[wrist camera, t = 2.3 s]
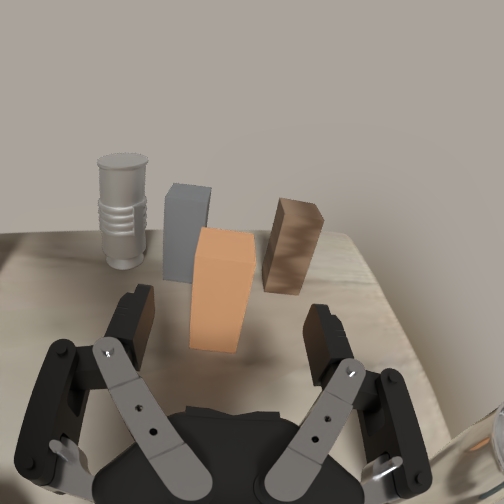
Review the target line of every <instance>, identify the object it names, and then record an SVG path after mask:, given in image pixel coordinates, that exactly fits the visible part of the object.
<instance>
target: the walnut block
mask: <svg viewBox="0 0 504 504" xmlns="http://www.w3.org/2000/svg"><path fill="white" fill-rule="evenodd" d="M323 223H324V219H323V217H322V215H321V213H320V212H319V210H318V208H317V207H316V205H315V204H312V203H306V202H301V201H296V200H290V199H285V198H279V202H278V207H277V211H276V215H275V219H274V223H273V227H272V231H271V235H270V239H269V243H268V248H267V252H266V256H265V260H264V264H263V268H262V277H263V286H264V292H269V293H279V294H289V295H299V293H300V290H301V287H302V285H303V282H304V279H305V276H306V273H307V271H308V268H309V265H310V262H311V259H312V256H313V253H314V250H315V247H316V244H317V241H318V238H319V235H320V232H321V229H322V226H323Z"/></svg>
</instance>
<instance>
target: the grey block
mask: <svg viewBox="0 0 504 504" xmlns="http://www.w3.org/2000/svg"><path fill="white" fill-rule="evenodd" d="M210 196H211V187H203V186H196V185H187V184H179V183H174V184H173V185H172V187H171V188H170V190H169V192H168V193H167V195H166V196H165V209H164V234H163V280H170V281H177V282H185V283H192V284H193V274H194V262H195V254H196V249H197V245H198V241H199V236H200V232H201V228H202V227H207V219H208V211H209V203H210Z"/></svg>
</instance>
